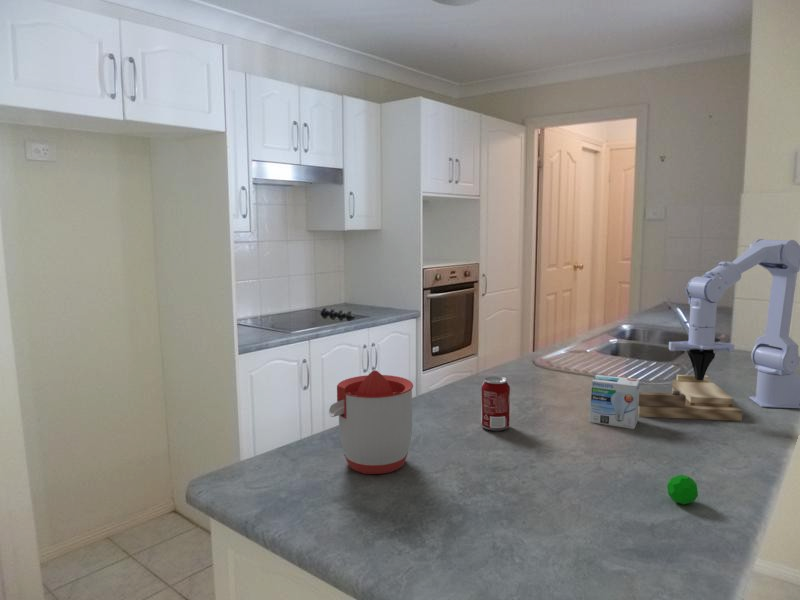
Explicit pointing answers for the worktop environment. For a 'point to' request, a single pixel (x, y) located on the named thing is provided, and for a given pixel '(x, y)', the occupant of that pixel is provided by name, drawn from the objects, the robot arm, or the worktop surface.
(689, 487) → the polyhedron
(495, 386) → the soda can
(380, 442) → the citrus juicer
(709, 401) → the lid
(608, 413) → the light bulb box
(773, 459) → the worktop surface
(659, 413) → the brown piece
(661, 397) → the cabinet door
